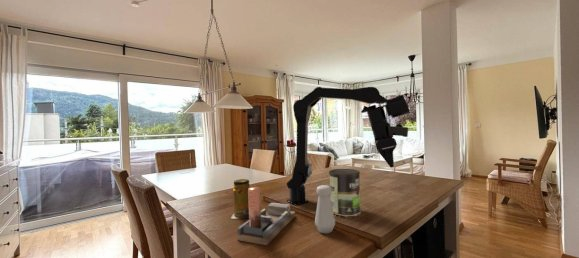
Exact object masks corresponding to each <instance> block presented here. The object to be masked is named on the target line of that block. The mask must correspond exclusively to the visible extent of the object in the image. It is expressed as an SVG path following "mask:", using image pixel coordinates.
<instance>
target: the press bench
mask: <svg viewBox="0 0 579 258" xmlns="http://www.w3.org/2000/svg"><path fill="white" fill-rule="evenodd" d="M266 210H267V211H266ZM261 215H263V216H270V217H272V222H273V224H271V225H270V226H269V227H268V228H267V229H266V230H265V231H263V236H258V235H252V234H246V233H243V226H244V225H245V224H246V223H248V222H249V219H248V220H246V221H245V222H244V223H243V224H241V225H240V226H238V227H237V235H236V236H237V237H236V238H237V239H236V240H237V241H242V242H248V243H252V244H258V245H264V246H267V245H268V244H270V243H271V242H272V241H273V239H274V238H275V237H276V236H278V234H279V233H280V232H281V231H282V230H283V229H284V228H285V227H286V226H287V225H288V224H289V223H290V222H291V221H292V220H293V219H294V218H295V217H296V211H295V210H294V211H293V210H291V204H288V203H277V202H270V203H269V204H268V205H267V208H263V209H261Z"/></svg>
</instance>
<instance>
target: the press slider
mask: <svg viewBox="0 0 579 258" xmlns="http://www.w3.org/2000/svg"><path fill="white" fill-rule="evenodd" d="M249 187H250V186H249ZM248 201H249V218H248V220H249V222H248V223H246V224H245V225H244V226H243V233H246V234H252V235H258V236H263V231H265V230H266V229H267V228H268V227H269V226H270V225H271V224H273V222H272V217H270V216H263V215H261V210H262V208H261V187H259V186H251V187H250V188H248Z"/></svg>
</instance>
